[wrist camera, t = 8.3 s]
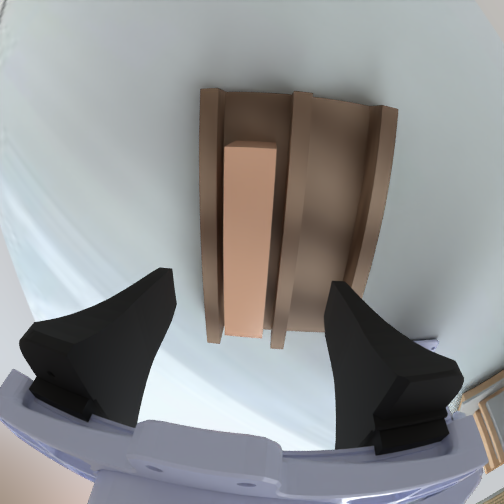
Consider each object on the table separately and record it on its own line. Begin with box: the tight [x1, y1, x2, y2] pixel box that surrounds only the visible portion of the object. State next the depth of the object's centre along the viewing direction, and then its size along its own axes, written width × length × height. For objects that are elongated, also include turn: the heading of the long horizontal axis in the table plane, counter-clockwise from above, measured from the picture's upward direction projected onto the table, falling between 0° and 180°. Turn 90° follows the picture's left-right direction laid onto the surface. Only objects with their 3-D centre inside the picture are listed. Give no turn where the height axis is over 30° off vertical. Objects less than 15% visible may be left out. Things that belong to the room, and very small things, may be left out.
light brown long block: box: [223, 140, 277, 338], centre depth 17 cm, size 12×2×4 cm, turn 178°
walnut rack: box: [199, 88, 398, 349], centre depth 18 cm, size 18×12×3 cm, turn 178°
